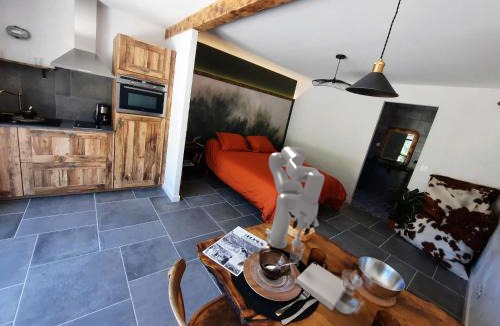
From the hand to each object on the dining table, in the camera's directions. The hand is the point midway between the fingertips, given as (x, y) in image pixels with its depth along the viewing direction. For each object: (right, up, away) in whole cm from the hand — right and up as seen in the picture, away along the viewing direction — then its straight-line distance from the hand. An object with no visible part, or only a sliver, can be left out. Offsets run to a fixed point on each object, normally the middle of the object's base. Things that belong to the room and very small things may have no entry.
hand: (300, 230), depth 107 cm
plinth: (+9, -25, -3) cm, 27 cm away
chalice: (-1, -7, +2) cm, 8 cm away
